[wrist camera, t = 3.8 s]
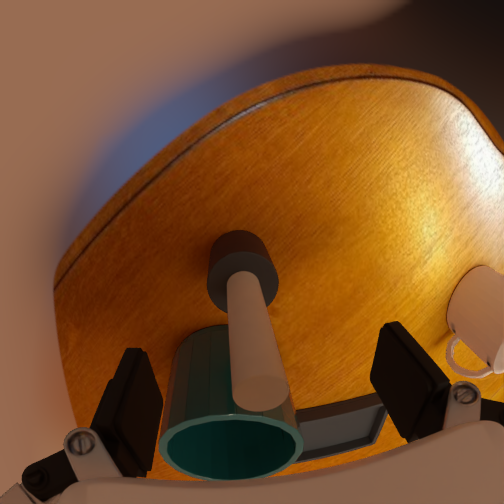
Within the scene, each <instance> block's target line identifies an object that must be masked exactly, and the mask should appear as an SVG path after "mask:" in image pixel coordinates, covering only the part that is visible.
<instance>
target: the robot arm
mask: <svg viewBox="0 0 504 504" xmlns="http://www.w3.org/2000/svg"><path fill="white" fill-rule="evenodd" d="M370 381H371V383H372V385H373V387H374V389H375V390H376V392H377V394H378V396H379V398H380V399H381V401H382V403H383V405H384V406H385V408H386V410H387V412H388V414H389V415H390V417H391V419H392V421H393V423H394V425H395V426H396V428H397V430H398V432H399V434H400V436H401V437H402V438H405V439H406V440H407V442H408V443H409V444H406V445H403V446H400V447H398V448H395V449H392V450H389V451H386V452H383V453H380V454H377V455H374V456H371V457H367V458H364V459H360V460H357V461H353V462H349V463H345V464H341V465H337V466H333V467H328V468H324V469H319V470H314V471H309V472H303V473H297V474H291V475H284V476H277V477H268V478H259V479H247V480H231V481H176V480H158V479H145V478H146V475H147V471H151V469H152V463H153V457H154V452H155V446H156V440H157V435H158V429H159V424H160V419H161V414H162V408H163V398H162V395H161V392H160V390H159V387H158V384H157V381H156V379H155V376H154V373H153V370H152V367H151V364H150V361H149V358H148V355H147V353H146V352H143V351H142V349H141V348H126V350H125V352H124V354H123V357H122V359H121V361H120V364H119V366H118V368H117V370H116V373H115V375H114V377H113V379H111V380H109V382H108V384H107V386H106V389H105V391H104V393H103V396H102V398H101V401H100V403H99V405H98V408H97V410H96V413H95V415H94V418H93V421H92V423H91V426H90V428H86V427H80V428H77V429H74V430H72V431H70V432H69V433H68V435H67V436H66V437H65V439H64V444H63V445H64V449H63V450H61V451H59V452H57V453H55V454H53V455H51V456H49V457H47V458H45V459H42V460H40V461H38V462H36V463H33V464H31V465H29V466H28V467H27V468H26V469H25V470H24V472H23V474H22V483H21V484H18V483H16V484H15V485H14V486H12V487H11V488H10V489H9V490H8V491H7V492H5V494H3V495H2V496H1V497H0V504H504V403H503V402H498V401H493V400H488V399H484V398H481V393H480V391H479V389H478V388H477V387H476V386H475V385H474V384H472V383H470V382H467V381H459V382H456V383H454V384H453V385H451V384H450V383H449V381H450V380H449V379H448V377H447V376H446V375H445V374H444V373H443V371H442V370H441V369H440V368H439V367H438V366H437V364H436V363H435V362H434V361H433V360H432V358H431V357H430V356H429V355H428V354H427V353H426V352H425V350H424V349H423V348H422V347H421V346H420V345H419V344H418V342H417V341H416V340H415V339H414V338H413V337H412V336H411V335H410V333H409V332H408V331H407V330H406V329H405V328H404V327H403V326H402V325H401V323H400V322H398V321H394V322H390V323H385V324H384V326H383V327H382V328H381V329H380V333H379V338H378V342H377V347H376V352H375V356H374V360H373V365H372V369H371V373H370ZM418 439H419V440H418ZM416 440H417V441H416ZM413 441H414V442H413ZM136 477H145V478H136Z"/></svg>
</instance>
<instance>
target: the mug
mask: <svg viewBox="0 0 504 504" xmlns="http://www.w3.org/2000/svg"><path fill="white" fill-rule="evenodd" d="M447 322H448V326H449V328H450V330H451V331H452V332H453V333H454V334H455V335H454V336H453V337H452V338H451V339H450V340H449V342H448V343H447V344H448V345H447V349H446V360H447V363H448V364H449V365H450V367H451V369H452V370H453V371H454V372H456V373H458V374H460V375H463V376H465V377H469V378H483V377H485V376H487V375H488V374H490V373H492V372H494V373H496V374H500V373H503V372H504V276H503V275H502V274H500V273H498V272H497V271H495V270H493V269H491V268H490V267H488V266H479V267H476V268H474V269H472V270H471V271H470V272H468V273H467V274H466V275H465V276H464V277H463V279H462V280H461V281H460V282H459V284H458V286H457V287H456V289H455V291H454V293H453V295H452V297H451V300H450V302H449V306H448V310H447ZM460 339H461V340H462V341H463V342H464V343H465V344H466V345H467V346H468V347H469V348H470V349H471V350H472V351H473V352H474V353H475V354H476V355H477V356H478V357H479V358H480V359H481V360H482V361H483V362H484V363H486V364H487V365H488V367H486V368H484V369H482V370H479V371H471V370H467V369H464V368H462V367H460V366H459V365H457V364H456V363H455V361H454V359H453V354H454V352H453V350H454V347H455V345H456V344H457V343H458V342H459V340H460Z"/></svg>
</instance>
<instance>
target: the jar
mask: <svg viewBox="0 0 504 504" xmlns="http://www.w3.org/2000/svg"><path fill="white" fill-rule="evenodd" d="M303 447H304V438H303V435H302V431H301V428H300V424H299V421H298V417H297V414H296V410H295V407H294V403H293V400H292V396H291V393H290V389H289V394H288V396H287V398H286V400H285V401H284V402H283V403H282V404H280V405H279V406H277V407H275V408H273V409H270V410H266V411H249V410H245V409H243V408H241V407H240V406H238V405H237V404H236V403H235V401H234V399H233V396H232V381H231V364H230V347H229V327H228V325H218V326H212V327H208V328H204V329H202V330H199V331H197V332H195V333H193V334H191V335H190V336H188V337H187V338H186V339H185V340H184V341H183V342H182V343H181V344H180V345H179V347H178V348H177V350H176V352H175V355H174V358H173V362H172V368H171V373H170V378H169V384H168V389H167V395H166V401H165V406H164V412H163V418H162V425H161V431H160V438H159V452H160V454H161V456H162V457H163V459H164V461H165V462H166V463H168V464H169V465H170V466H171V467H173V468H174V469H175V470H177V471H179V472H181V473H184V474H186V475H188V476H191V477H194V478H198V479H202V480H206V481H231V480H247V479H259V478H265V477H268V476H271V475H273V474H276V473H278V472H280V471H283V470H284V469H286V468H287V467H289V466H290V465H291V464H293V463H294V462H295V461H296V460H297V459H298V457H299V456H300V455H301V453H302V452H303Z"/></svg>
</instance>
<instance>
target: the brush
mask: <svg viewBox="0 0 504 504" xmlns="http://www.w3.org/2000/svg"><path fill="white" fill-rule="evenodd" d="M278 284H279V281H278V275H277V272H276V269H275V267H274V265H273V263H272V261H271V258H270V256H269V254H268V252H267V249H266V247H265V245H264V243H263V242H262V241H261V239H260V238H259V237H257V236H256V235H255V234H253V233H251V232H248V231H243V230H235V231H231V232H228V233H225V234H224V235H222V236H221V237H219V238H218V239H217V240H216V242H215V243H214V245H213V247H212V249H211V253H210V260H209V269H208V278H207V290H208V294H209V296H210V298H211V300H212V302H213V303H214V304H215V305H216V306H217V307H218V308H219V309H220V310H222V311H224V312H226V313H228V327H229V347H230V364H231V381H232V396H233V399H234V401H235V403H236V404H237V405H238V406H240V407H241V408H243V409H245V410H249V411H266V410H270V409H273V408H275V407H277V406H279V405H280V404H282V403H283V402H284V401H285V400H286V398H287V396H288V394H289V385H288V381H287V378H286V374H285V371H284V367H283V364H282V360H281V357H280V353H279V350H278V346H277V343H276V339H275V336H274V332H273V329H272V325H271V322H270V318H269V315H268V311H267V308H266V307H267V306H269V304H270V303H271V302H272V301H273V299H274V298H275V296H276V294H277V291H278Z"/></svg>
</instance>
